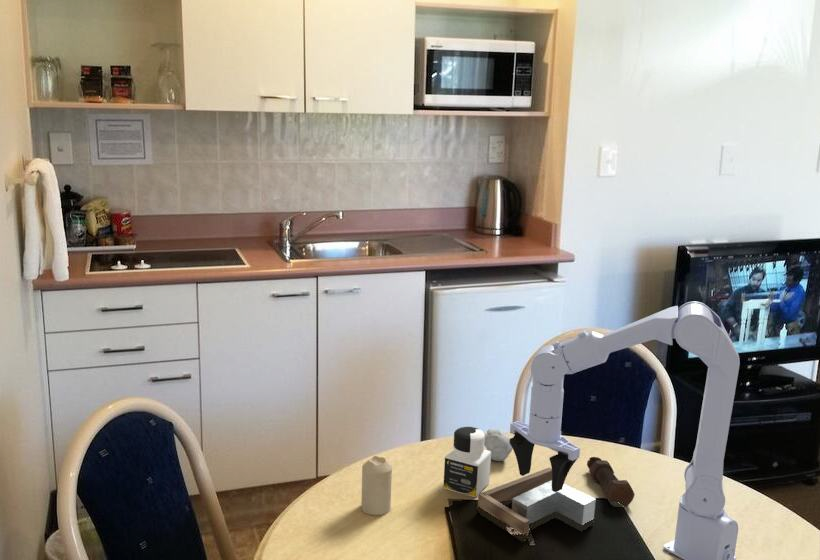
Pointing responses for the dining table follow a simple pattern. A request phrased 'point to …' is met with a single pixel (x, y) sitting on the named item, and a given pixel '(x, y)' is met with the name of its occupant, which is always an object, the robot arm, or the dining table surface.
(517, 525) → the corner jig
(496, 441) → the grey rock
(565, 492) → the bracket
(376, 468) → the candle
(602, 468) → the bolt
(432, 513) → the dining table surface
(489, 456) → the medicine bottle
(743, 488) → the dining table surface
